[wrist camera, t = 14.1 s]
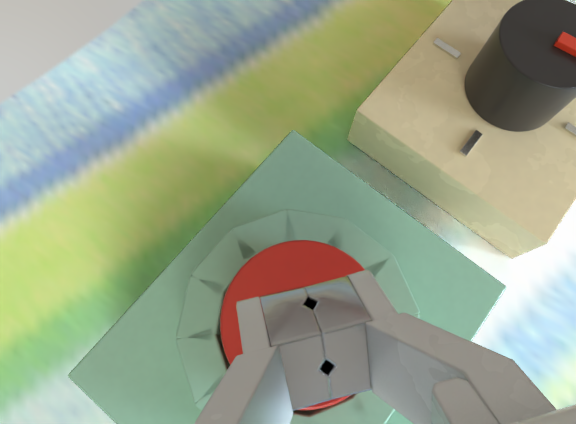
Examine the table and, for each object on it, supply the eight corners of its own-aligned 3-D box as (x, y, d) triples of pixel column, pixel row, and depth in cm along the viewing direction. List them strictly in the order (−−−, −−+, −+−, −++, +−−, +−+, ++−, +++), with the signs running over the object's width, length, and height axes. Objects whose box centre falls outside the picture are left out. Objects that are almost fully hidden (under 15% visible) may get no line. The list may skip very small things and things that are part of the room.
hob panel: (458, 10, 26) (481, -35, 23) (612, 106, 25) (659, 71, 22) (346, 140, 23) (356, 107, 20) (511, 259, 22) (549, 243, 19)
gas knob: (447, 100, 21) (484, 46, 17) (488, 36, 22) (530, -27, 18) (534, 149, 20) (591, 104, 17) (571, 80, 21) (632, 23, 18)
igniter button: (288, 230, 15) (291, 208, 13) (396, 316, 14) (419, 307, 12) (198, 336, 14) (184, 332, 12) (310, 435, 13) (318, 451, 11)
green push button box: (288, 176, 23) (294, 101, 16) (455, 303, 21) (539, 277, 14) (116, 371, 20) (35, 378, 13) (294, 539, 18) (305, 646, 11)
